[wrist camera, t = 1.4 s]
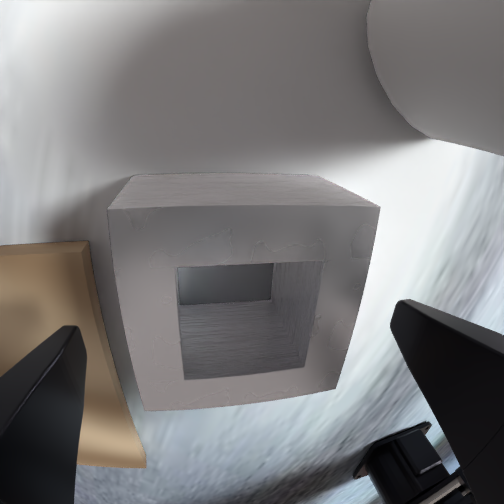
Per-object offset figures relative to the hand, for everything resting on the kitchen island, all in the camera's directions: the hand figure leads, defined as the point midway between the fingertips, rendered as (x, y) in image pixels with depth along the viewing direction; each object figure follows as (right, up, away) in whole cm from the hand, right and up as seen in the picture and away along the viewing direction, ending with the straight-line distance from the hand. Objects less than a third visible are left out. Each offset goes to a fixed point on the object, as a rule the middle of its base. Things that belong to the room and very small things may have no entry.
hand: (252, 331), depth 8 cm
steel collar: (-1, +2, +4) cm, 4 cm away
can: (+7, +10, +2) cm, 13 cm away
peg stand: (-11, -4, +4) cm, 12 cm away
